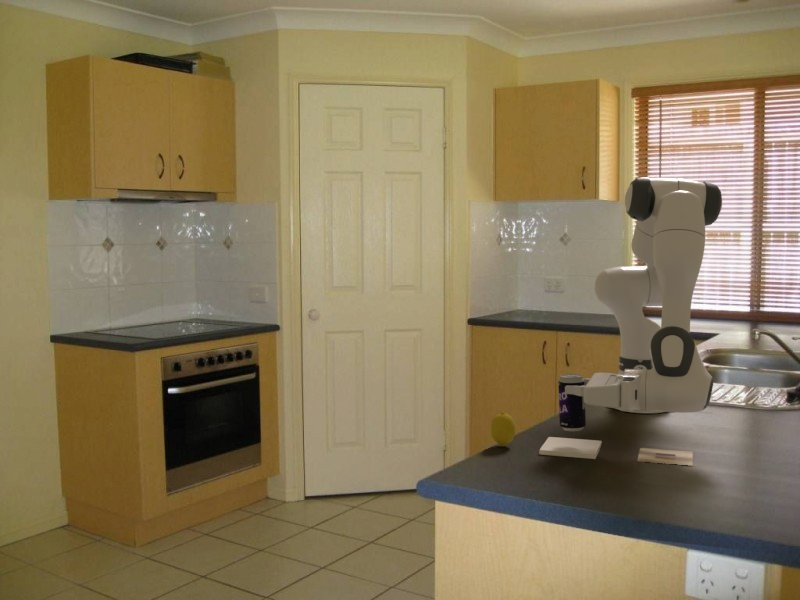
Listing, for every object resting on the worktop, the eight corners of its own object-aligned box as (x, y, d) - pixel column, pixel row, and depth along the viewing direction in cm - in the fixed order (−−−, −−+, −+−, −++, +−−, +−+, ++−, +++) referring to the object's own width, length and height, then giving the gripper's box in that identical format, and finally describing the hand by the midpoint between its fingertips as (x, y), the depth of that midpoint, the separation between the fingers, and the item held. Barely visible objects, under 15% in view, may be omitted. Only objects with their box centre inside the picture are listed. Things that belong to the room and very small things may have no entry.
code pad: (640, 448, 181) (640, 447, 181) (692, 452, 177) (692, 451, 177) (636, 461, 171) (636, 460, 171) (692, 466, 167) (692, 465, 167)
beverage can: (567, 425, 184) (565, 373, 184) (590, 428, 181) (588, 374, 180) (555, 430, 180) (553, 376, 179) (578, 433, 176) (576, 378, 176)
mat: (548, 441, 189) (548, 436, 189) (601, 445, 185) (601, 440, 184) (539, 454, 177) (539, 449, 177) (595, 459, 173) (595, 454, 173)
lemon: (501, 442, 188) (501, 408, 188) (520, 446, 184) (520, 411, 184) (485, 446, 184) (485, 412, 184) (505, 451, 180) (505, 415, 180)
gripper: (635, 367, 185) (574, 364, 190) (628, 383, 166) (560, 379, 170) (635, 394, 185) (574, 391, 190) (628, 413, 166) (560, 409, 171)
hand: (567, 386), depth 180 cm, fingers closed on beverage can, 6 cm apart
